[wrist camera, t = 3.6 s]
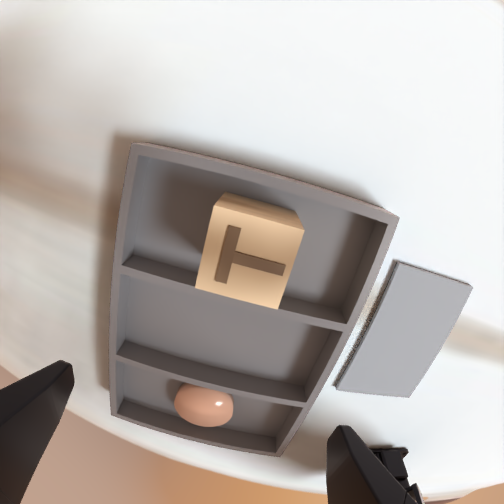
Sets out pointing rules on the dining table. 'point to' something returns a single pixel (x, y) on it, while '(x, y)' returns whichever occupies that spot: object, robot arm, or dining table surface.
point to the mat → (405, 333)
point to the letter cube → (249, 250)
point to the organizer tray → (231, 299)
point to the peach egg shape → (203, 405)
